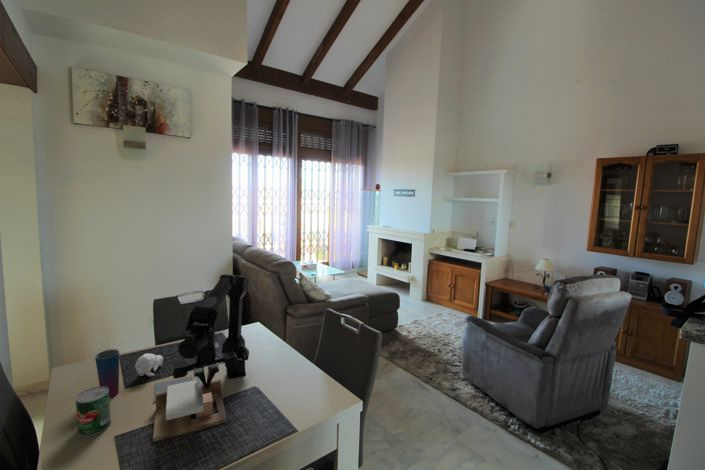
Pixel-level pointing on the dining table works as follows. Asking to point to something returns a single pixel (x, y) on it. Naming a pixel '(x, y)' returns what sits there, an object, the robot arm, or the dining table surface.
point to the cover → (184, 399)
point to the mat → (164, 385)
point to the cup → (108, 370)
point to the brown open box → (187, 416)
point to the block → (206, 406)
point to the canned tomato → (93, 411)
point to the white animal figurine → (148, 364)
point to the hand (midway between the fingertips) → (206, 388)
